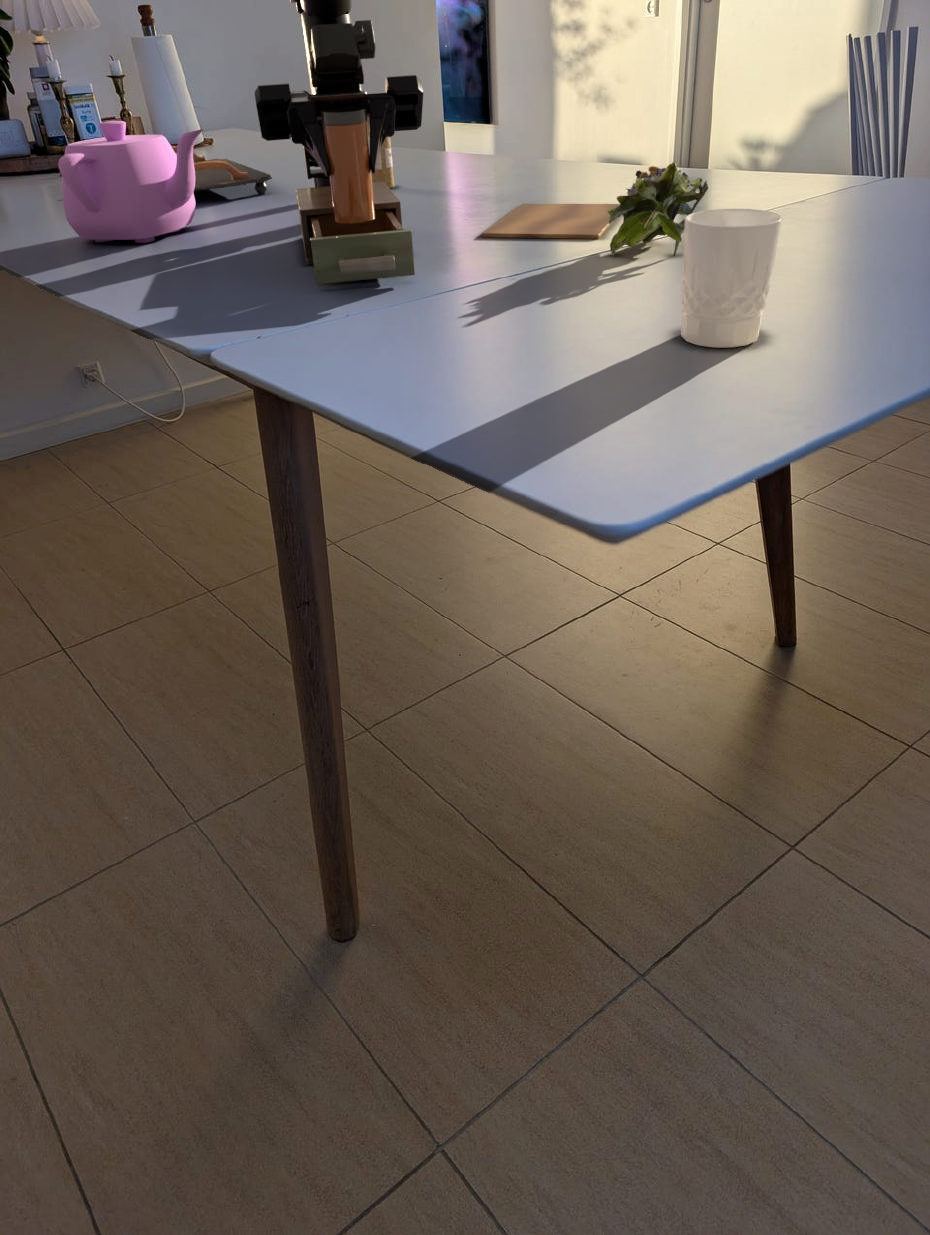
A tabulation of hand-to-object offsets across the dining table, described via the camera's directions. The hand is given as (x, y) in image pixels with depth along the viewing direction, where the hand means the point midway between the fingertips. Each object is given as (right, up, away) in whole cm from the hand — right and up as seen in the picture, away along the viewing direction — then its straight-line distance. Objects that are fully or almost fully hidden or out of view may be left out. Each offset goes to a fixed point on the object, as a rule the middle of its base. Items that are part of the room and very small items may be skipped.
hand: (350, 172), depth 100 cm
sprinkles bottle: (-2, +27, +60) cm, 66 cm away
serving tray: (-39, +31, +69) cm, 86 cm away
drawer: (+1, -9, +5) cm, 10 cm away
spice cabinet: (-3, 0, +20) cm, 20 cm away
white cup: (+36, -25, -20) cm, 48 cm away
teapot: (-36, +7, +34) cm, 50 cm away
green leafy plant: (+37, -5, +9) cm, 38 cm away
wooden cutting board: (+26, +7, +27) cm, 38 cm away
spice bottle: (0, -3, +4) cm, 5 cm away
